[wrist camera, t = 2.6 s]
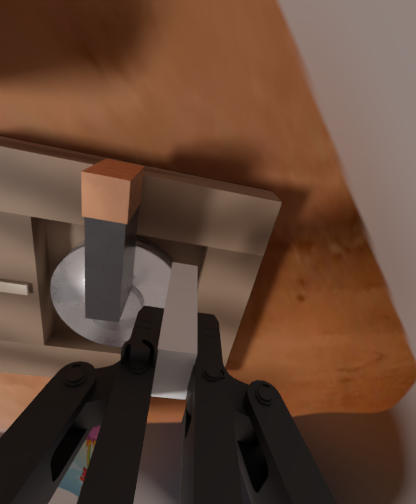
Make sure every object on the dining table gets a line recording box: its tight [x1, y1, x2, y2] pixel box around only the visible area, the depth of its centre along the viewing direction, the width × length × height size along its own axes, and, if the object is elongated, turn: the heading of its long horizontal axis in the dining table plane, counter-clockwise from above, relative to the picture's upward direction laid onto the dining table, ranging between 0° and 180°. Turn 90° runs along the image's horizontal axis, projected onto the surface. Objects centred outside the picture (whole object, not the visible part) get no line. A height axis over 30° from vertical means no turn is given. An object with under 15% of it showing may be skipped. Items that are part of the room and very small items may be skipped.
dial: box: [50, 158, 175, 347], centre depth 20 cm, size 17×11×7 cm, turn 168°
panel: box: [0, 136, 282, 377], centre depth 24 cm, size 22×22×3 cm
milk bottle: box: [48, 426, 101, 504], centre depth 24 cm, size 8×8×20 cm
